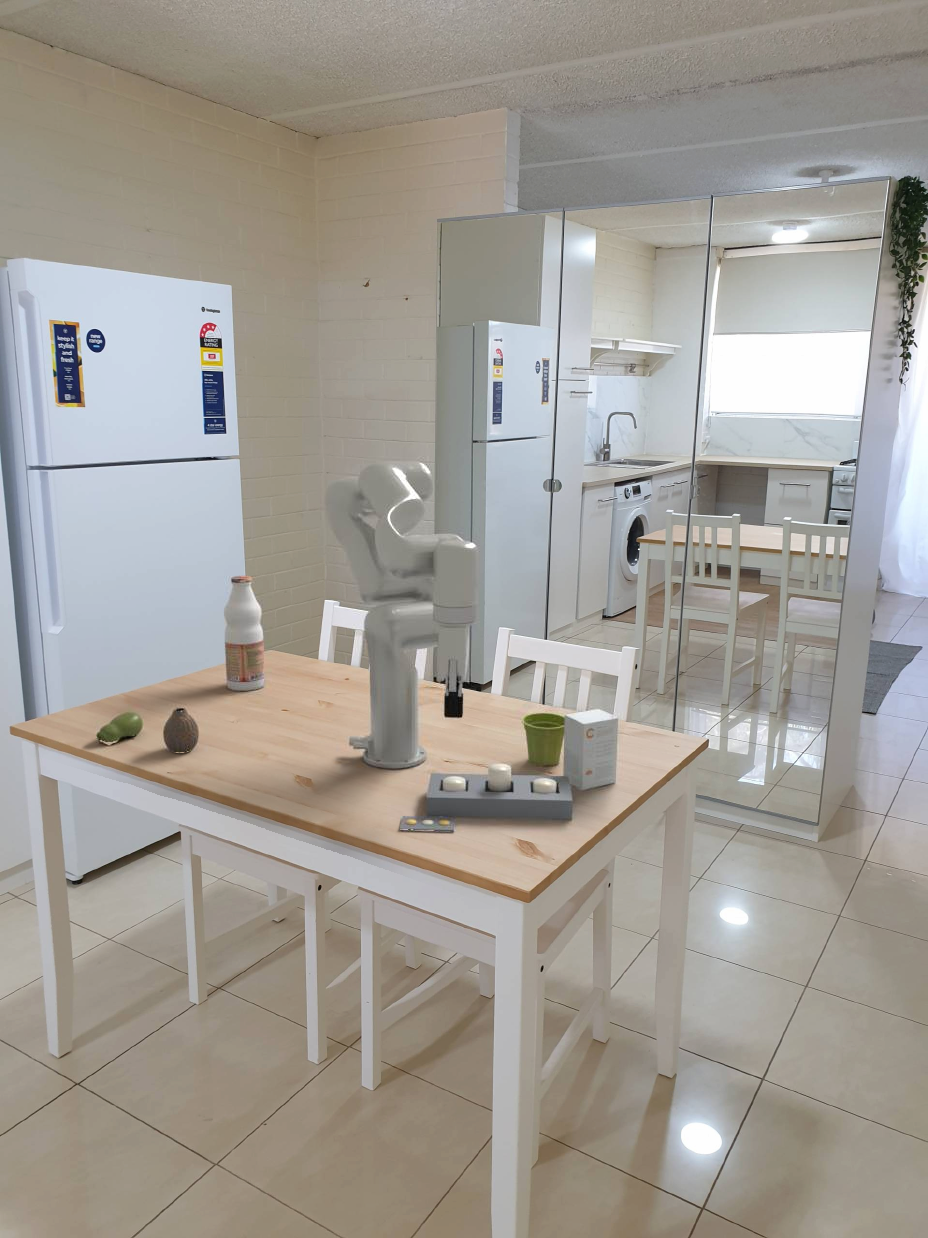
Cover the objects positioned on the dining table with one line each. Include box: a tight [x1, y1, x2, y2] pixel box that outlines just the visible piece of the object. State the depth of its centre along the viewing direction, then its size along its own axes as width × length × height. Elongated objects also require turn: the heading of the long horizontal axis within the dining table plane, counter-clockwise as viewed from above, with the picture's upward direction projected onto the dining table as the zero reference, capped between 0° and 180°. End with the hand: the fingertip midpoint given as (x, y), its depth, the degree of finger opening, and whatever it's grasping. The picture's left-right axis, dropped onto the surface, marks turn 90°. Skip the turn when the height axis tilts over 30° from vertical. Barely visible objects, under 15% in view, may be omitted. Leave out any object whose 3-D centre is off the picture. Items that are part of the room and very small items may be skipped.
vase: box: [162, 707, 200, 753], centre depth 192 cm, size 7×7×9 cm
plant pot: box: [521, 712, 565, 767], centre depth 187 cm, size 9×9×9 cm
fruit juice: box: [223, 575, 266, 692], centre depth 235 cm, size 9×9×28 cm
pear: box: [95, 711, 144, 742], centre depth 199 cm, size 6×5×10 cm
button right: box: [533, 778, 556, 793], centre depth 166 cm, size 4×4×4 cm
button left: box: [443, 776, 466, 791], centre depth 167 cm, size 4×4×4 cm
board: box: [425, 772, 574, 821], centre depth 167 cm, size 25×11×4 cm, turn 88°
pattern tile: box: [399, 815, 456, 833], centre depth 158 cm, size 9×5×1 cm, turn 88°
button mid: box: [487, 763, 512, 791], centre depth 166 cm, size 4×4×4 cm
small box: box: [562, 708, 619, 791], centre depth 177 cm, size 8×6×13 cm
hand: (453, 716), depth 164 cm, fingers closed
